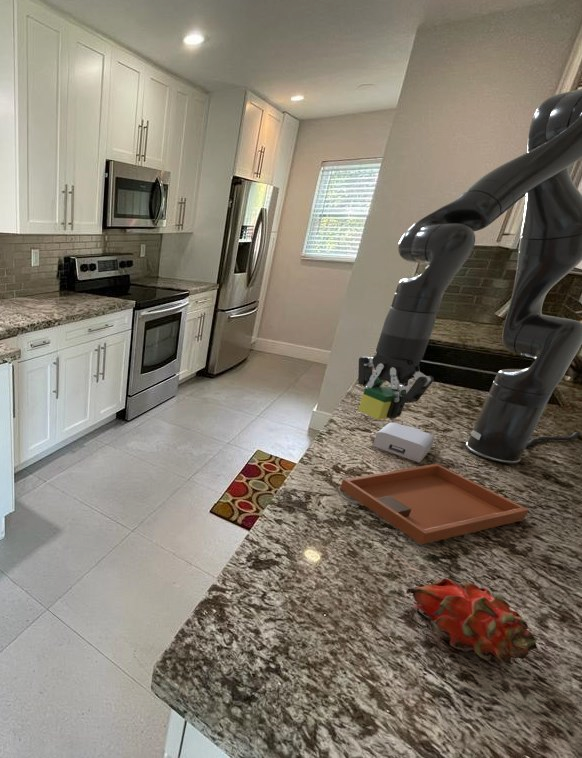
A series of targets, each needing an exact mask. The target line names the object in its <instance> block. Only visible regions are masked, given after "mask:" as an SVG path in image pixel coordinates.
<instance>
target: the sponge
mask: <svg viewBox="0 0 582 758" xmlns="http://www.w3.org/2000/svg"><path fill="white" fill-rule="evenodd" d="M391 401H393V391H392V390H391V387H390V386H380V387H376V388H366V389H365V388H364V391H363V394H362V397H361V400H360V403H359V406H358V412H361V413H362V414H365V415H368V416H370V417H372V418H373V419H376V420H385V419H389V418H388V417H387V413H388V410H389V407H390V404H391ZM402 412H403V411H402ZM402 412H401V414H402ZM400 417H401V415H400V416H399V417H398V418H400Z"/></svg>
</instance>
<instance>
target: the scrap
mask: <svg viewBox="0 0 582 758" xmlns="http://www.w3.org/2000/svg"><path fill="white" fill-rule="evenodd" d="M377 499H378V500H379V501H381V502H382V503H384V504H385V505H387V506H388V507H390V508H391V509H393V510H394V511H396V512H398V513H399V514H401V515H402V516H404V517H406V516H409V515H410V512H411V509H410V508H409V507H407V506H405V505H404V504H402V503H401V502H399V501H398V500H396V499H394V498H393V497H391V496H388V497H383V498H377Z"/></svg>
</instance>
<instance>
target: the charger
mask: <svg viewBox="0 0 582 758" xmlns="http://www.w3.org/2000/svg"><path fill="white" fill-rule="evenodd" d="M434 442H435V436H434V435H433V434H431V433H428V432H427V431H423V430H421V429H419V428H416V427H413V426H409V425H404V424H400V423H397V422H388V423H387V424H386V425H385V426H384V427H382V428H381V429H380V430H379V431H377V432H376V434H375V437H374V440H373V443H372V447H374V448H377V449H379V450H383V451H386V452H389V453H391V454H393V455H394V454H395V455H397V456H399V457H403V458H404V459H408V460H410V461H414V462H416V463H420V462H422V460H423V459H424V458H425V457H426V456H427V454H428V453H430V451H431V449H432V446H433V444H434Z"/></svg>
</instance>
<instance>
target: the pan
mask: <svg viewBox="0 0 582 758" xmlns="http://www.w3.org/2000/svg"><path fill="white" fill-rule="evenodd" d="M339 489H340V490H341V491H343V493H345V494H346V495H348V496H350V497H351V498H353V500H355V501H357V502H358V503H359V504H361V505H363V506H364V507H365V508H367V509H369V510H370V511H371V512H373V513H374V514H376V515H377V516H378V517H380V518H382V519H383V520H384V521H386V522H387V523H389V524H390V525H392V526H393V527H394V528H396V529H397V530H398V531H401V532H402V533H403V534H405V535H406V536H408V537H409V538H410V539H412V540H414V541H415V542H416V543H418V544H419V545H425V544H429V543H434V542H438V541H442V540H445V539H451V538H454V537H458V536H463V535H467V534H471V533H476V532H479V531H484V530H488V529H493V528H496V527H499V526H504V525H509V524H512V523H516V522H517V523H518V522H520V521H521V522H522V521H524V520H525V519H526V516H527V515H528V513H529V511H530V509H528V508H526V507H525V506H523V505H520V504H518V503H516V502H514V501H513V500H511V499H509V498H506V497H505V496H502V495H501V494H499V493H497V492H494V491H492V490H490V489H489V488H486V487H485V486H483V485H481V484H479V483H477V482H474V481H472V480H470V479H469V478H466V477H465V476H463V475H461V474H459V473H457V472H455V471H452V470H451V469H449V468H447V467H445V466H443V465H441V464H439V463H432V464H425V465H420V466H414V467H408V468H403V469H395V470H390V471H384V472H377V473H372V474H365V475H360V476H355V477H349V478H343V479H342V482H341V485H340V487H339ZM388 496H391V497H393V498H394V499H396V500H398V501H399V502H401V503H402V504H404V505H405V506H407V507H409V508H410V509H411V512H410V515H409V516H406V517H404V516H402V515H401V514H399V513H398V512H396V511H394V510H393V509H391V508H390V507H388V506H387V505H385V504H384V503H382V502H381V501H379V500H378V499H377V498H383V497H388Z"/></svg>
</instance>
